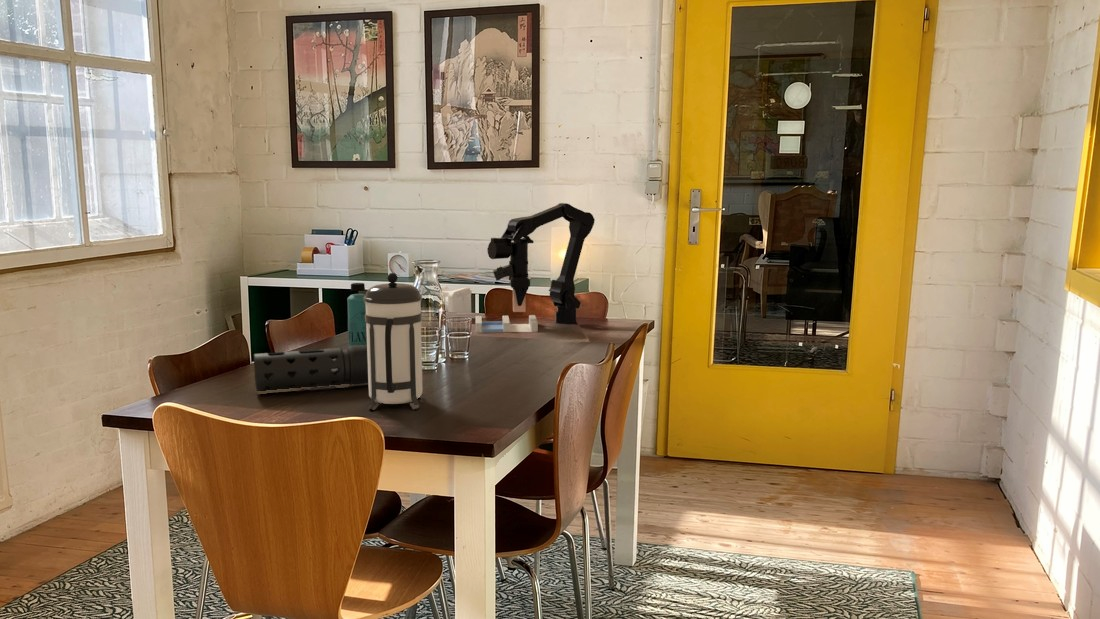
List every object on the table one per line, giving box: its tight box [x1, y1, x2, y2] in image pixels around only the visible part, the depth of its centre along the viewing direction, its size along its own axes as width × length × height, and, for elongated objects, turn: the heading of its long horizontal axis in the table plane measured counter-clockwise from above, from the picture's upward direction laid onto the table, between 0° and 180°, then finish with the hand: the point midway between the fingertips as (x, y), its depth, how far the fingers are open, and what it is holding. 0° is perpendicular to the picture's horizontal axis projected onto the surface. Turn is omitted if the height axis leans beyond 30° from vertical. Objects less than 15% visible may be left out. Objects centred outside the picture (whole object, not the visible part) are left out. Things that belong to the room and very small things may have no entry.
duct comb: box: [475, 314, 539, 334], centre depth 283 cm, size 20×14×4 cm
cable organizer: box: [440, 285, 472, 314], centre depth 301 cm, size 15×11×12 cm
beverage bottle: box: [346, 282, 367, 347], centre depth 252 cm, size 6×7×20 cm
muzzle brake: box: [253, 345, 368, 391], centre depth 207 cm, size 10×28×10 cm, turn 111°
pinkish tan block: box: [512, 288, 527, 313], centre depth 282 cm, size 4×4×9 cm
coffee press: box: [364, 272, 424, 406], centre depth 191 cm, size 17×16×30 cm
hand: (519, 304), depth 282 cm, fingers closed on pinkish tan block, 4 cm apart
